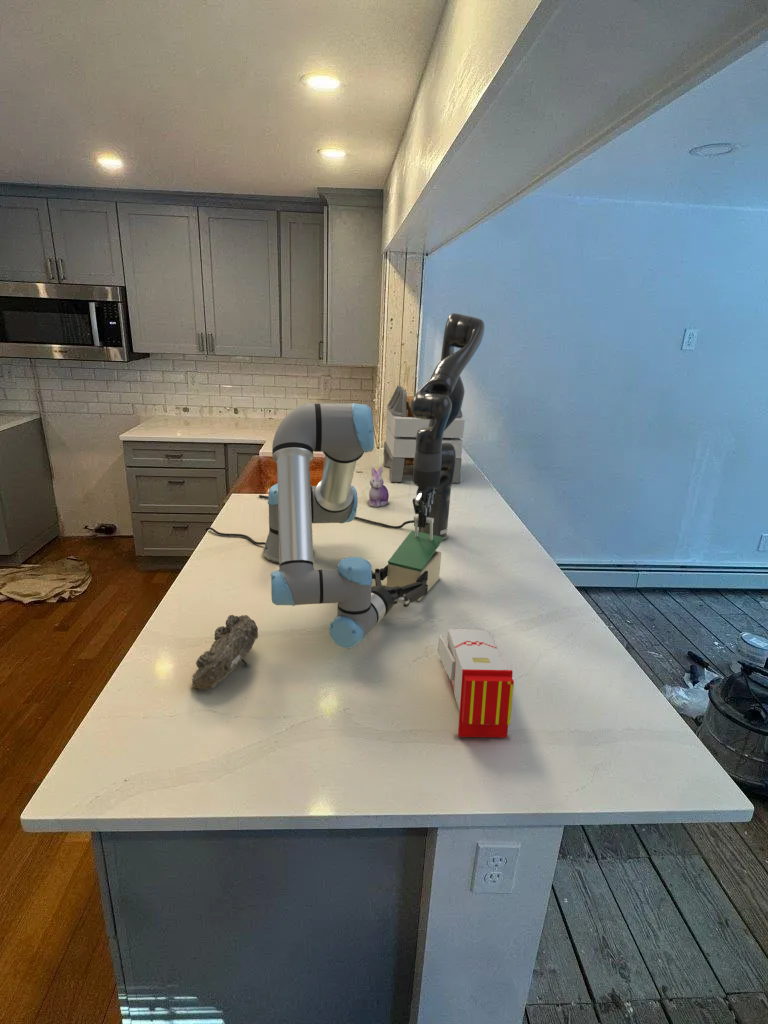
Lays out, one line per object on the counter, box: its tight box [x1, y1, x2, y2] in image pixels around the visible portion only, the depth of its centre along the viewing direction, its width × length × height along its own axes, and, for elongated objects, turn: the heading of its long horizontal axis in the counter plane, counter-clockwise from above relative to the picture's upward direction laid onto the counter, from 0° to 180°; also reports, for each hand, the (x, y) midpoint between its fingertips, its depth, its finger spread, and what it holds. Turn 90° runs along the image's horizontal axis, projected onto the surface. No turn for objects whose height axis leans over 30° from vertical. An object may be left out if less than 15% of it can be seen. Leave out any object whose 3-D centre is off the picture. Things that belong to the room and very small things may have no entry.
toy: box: [437, 628, 515, 738], centre depth 117 cm, size 12×13×30 cm
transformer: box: [383, 384, 465, 484], centre depth 268 cm, size 34×33×41 cm
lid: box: [387, 514, 444, 572], centre depth 158 cm, size 17×10×8 cm, turn 154°
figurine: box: [367, 466, 390, 507], centre depth 227 cm, size 9×10×15 cm
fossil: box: [191, 614, 259, 691], centre depth 123 cm, size 22×10×15 cm
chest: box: [386, 550, 442, 602], centre depth 162 cm, size 16×10×9 cm, turn 155°
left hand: (408, 571), depth 157 cm, fingers closed on chest, 10 cm apart
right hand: (423, 525), depth 161 cm, fingers closed on lid
